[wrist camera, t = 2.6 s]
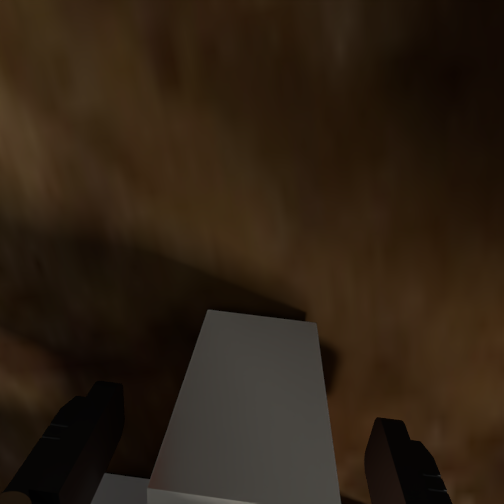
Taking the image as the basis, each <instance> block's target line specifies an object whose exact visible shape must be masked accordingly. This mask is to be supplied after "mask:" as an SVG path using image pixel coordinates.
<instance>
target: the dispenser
mask: <svg viewBox="0 0 504 504" xmlns="http://www.w3.org/2000/svg"><path fill="white" fill-rule="evenodd" d="M149 481H150V479H144V478H137V477H130V476H122V475H115V474H108V473H104V476H103V478H102V480H101V482H100V484H99V487H98V489H97V491H96V493H95V495H94V498H93V500H92V502H91V504H147V487H148V484H149Z"/></svg>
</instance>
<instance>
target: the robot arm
mask: <svg viewBox="0 0 504 504" xmlns="http://www.w3.org/2000/svg"><path fill="white" fill-rule="evenodd" d="M124 420H125V416H124V396H123V385H122V384H120V383H113V382H105V381H97V382H96V383H95V384H94V385H93V387H92V389H91V390H90V392H89V393H88V395H87V396H86V397H81V396H76V397H74V398H73V399H72V400H71V401H69V402H68V403H67V404H65V405H64V406H63V407H62V408H61V409H60V410H59V412H58V413H57V415H56V416H55V418H54V419H53V421H52V422H51V425H50V426H48V428H47V429H46V431H45V432H44V434H43V435H42V438H40V440H39V441H38V442H37V444H36V445H35V447H34V448H33V450H32V451H31V453H30V454H29V456H28V457H27V459H26V460H25V462H24V463H23V464H22V466H21V467H20V469H19V470H18V472H17V473H16V475H15V476H14V478H13V479H12V481H11V482H10V483H9V485H8V486H7V488H6V489H5V490H4V491H3V492H2V493H0V504H91V502H92V500H93V498H94V495H95V493H96V491H97V489H98V487H99V484H100V482H101V480H102V478H103V476H104V473H105V471H106V469H107V467H108V465H109V462H110V460H111V458H112V456H113V454H114V451H115V449H116V447H117V445H118V443H119V441H120V438H121V435H122V432H123V428H124ZM364 466H365V474H366V479H367V483H368V488H369V493H370V497H371V502H372V504H452V502H451V499H450V497H449V494H447V489H446V487H445V485H444V482H443V480H442V479H441V475H440V472H439V470H438V467H437V465H436V463H435V460H434V458H433V456H432V455H431V454H430V453H429V451H428V450H427V449H426V448H425V447H424V445H423V444H422V443H421V442H420V441H414V440H410V437H409V434H408V432H407V429H406V426H405V424H404V422H403V421H402V420H394V419H386V418H379V417H377V418H376V419H375V422H374V425H373V428H372V431H371V435H370V438H369V441H368V444H367V448H366V451H365V459H364Z"/></svg>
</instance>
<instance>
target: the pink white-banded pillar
mask: <svg viewBox="0 0 504 504" xmlns="http://www.w3.org/2000/svg"><path fill="white" fill-rule="evenodd" d="M147 504H341V499H340V492H339V484H338V477H337V470H336V463H335V455H334V448H333V441H332V433H331V426H330V419H329V411H328V404H327V397H326V390H325V382H324V375H323V368H322V360H321V353H320V346H319V339H318V331H317V324H316V323H313V322H305V321H297V320H289V319H281V318H273V317H264V316H256V315H248V314H240V313H232V312H224V311H216V310H207V313H206V316H205V319H204V322H203V325H202V328H201V331H200V334H199V337H198V340H197V342H196V345H195V348H194V351H193V354H192V357H191V360H190V363H189V366H188V369H187V372H186V375H185V378H184V381H183V384H182V387H181V390H180V392H179V395H178V398H177V401H176V404H175V407H174V410H173V413H172V416H171V419H170V422H169V425H168V428H167V431H166V434H165V437H164V439H163V442H162V445H161V448H160V451H159V454H158V457H157V460H156V463H155V466H154V469H153V472H152V475H151V478H150V481H149V484H148V487H147Z"/></svg>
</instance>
